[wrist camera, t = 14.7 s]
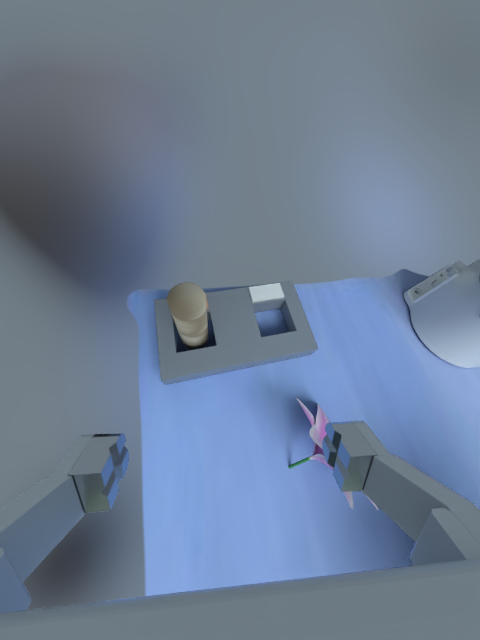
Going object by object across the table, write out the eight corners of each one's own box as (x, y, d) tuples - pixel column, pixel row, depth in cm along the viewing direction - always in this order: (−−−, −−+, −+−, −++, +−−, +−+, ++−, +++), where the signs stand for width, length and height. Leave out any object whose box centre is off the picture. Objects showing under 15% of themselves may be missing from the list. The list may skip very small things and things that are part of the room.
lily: (349, 515, 28) (422, 501, 22) (271, 534, 23) (339, 522, 17) (312, 417, 36) (359, 388, 30) (249, 414, 31) (290, 379, 25)
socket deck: (286, 290, 40) (292, 279, 37) (310, 354, 35) (319, 347, 32) (158, 309, 36) (153, 298, 33) (165, 384, 31) (160, 379, 28)
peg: (197, 322, 36) (190, 276, 25) (214, 340, 35) (213, 300, 24) (176, 337, 34) (159, 295, 24) (192, 356, 33) (182, 322, 23)
